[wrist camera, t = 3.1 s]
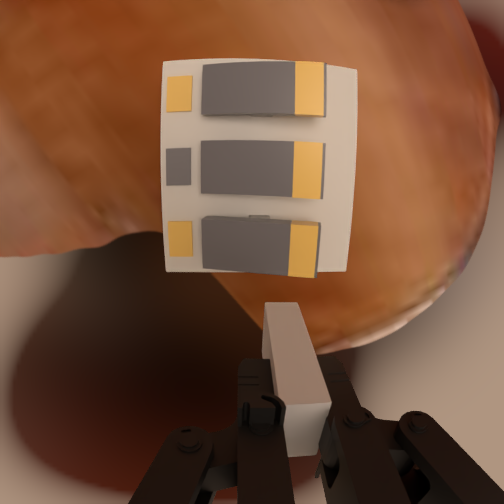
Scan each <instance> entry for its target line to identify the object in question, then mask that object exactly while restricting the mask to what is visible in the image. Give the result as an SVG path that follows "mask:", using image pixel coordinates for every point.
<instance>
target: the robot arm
mask: <svg viewBox="0 0 504 504" xmlns="http://www.w3.org/2000/svg"><path fill="white" fill-rule="evenodd" d="M262 355H263V359H243V360H242V362H241V363H240V365H239V366H238V414H237V418H236V420H235V422H234V423H233V424H232V425H231V426H229V427H228V428H226V429H224V430H221V431H217V432H212V433H208V432H206V431H205V430H203V429H201V428H199V427H194V426H185V427H179V428H177V429H175V430H173V431H172V432H171V433H170V434H169V435H168V436H167V438H166V440H165V441H164V443H163V445H162V446H161V448H160V450H159V452H158V454H157V455H156V457H155V459H154V461H153V462H152V464H151V465H150V467H149V469H148V471H147V472H146V474H145V476H144V478H143V480H142V481H141V483H140V484H139V486H138V488H137V489H136V491H135V493H134V495H133V496H132V498H131V500H130V501H129V503H128V504H212V502H213V499H214V496H215V494H216V491H217V490H222V489H226V488H230V487H234V486H237V504H295V501H294V494H293V488H292V481H291V474H290V467H289V460H288V457H294V456H308V455H316V454H317V451H318V447H319V448H320V452H321V459H320V462H319V464H318V467H317V470H316V473H315V478H318V477H319V474H321V478H322V483H323V488H324V492H325V497H326V501H327V504H504V491H503V490H502V489H501V488H500V487H499V486H498V485H497V484H496V483H495V482H494V481H493V480H492V479H491V478H490V477H489V476H488V475H487V473H485V471H484V470H483V469H482V468H481V467H480V466H479V465H478V464H477V463H476V462H475V461H474V460H473V459H472V458H471V457H470V456H469V455H468V454H467V453H466V452H465V451H464V450H463V449H462V448H461V447H460V446H459V445H458V443H457V442H456V441H455V440H454V439H453V438H452V437H451V436H450V435H449V434H448V433H447V432H446V431H445V430H444V429H443V428H442V427H441V426H440V425H439V424H438V423H437V422H436V421H435V420H434V419H433V418H432V417H431V416H429V415H428V414H426V413H423V412H421V411H411V412H407V413H405V414H404V415H403V416H401V418H400V420H399V421H390V420H382V419H377V418H375V417H374V416H373V414H372V413H371V412H370V411H368V410H367V409H366V408H363V407H361V405H360V403H359V401H358V398H357V396H356V394H355V391H354V389H353V387H352V384H351V382H350V381H349V377H348V375H347V374H346V371H345V368H344V366H343V364H342V363H341V362H340V361H339V360H338V359H337V358H336V357H335V356H325V357H316V354H315V351H314V348H313V346H312V343H311V340H310V337H309V334H308V331H307V328H306V325H305V323H304V320H303V317H302V314H301V311H300V308H299V306H298V303H297V302H265V310H264V327H263V345H262Z"/></svg>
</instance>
